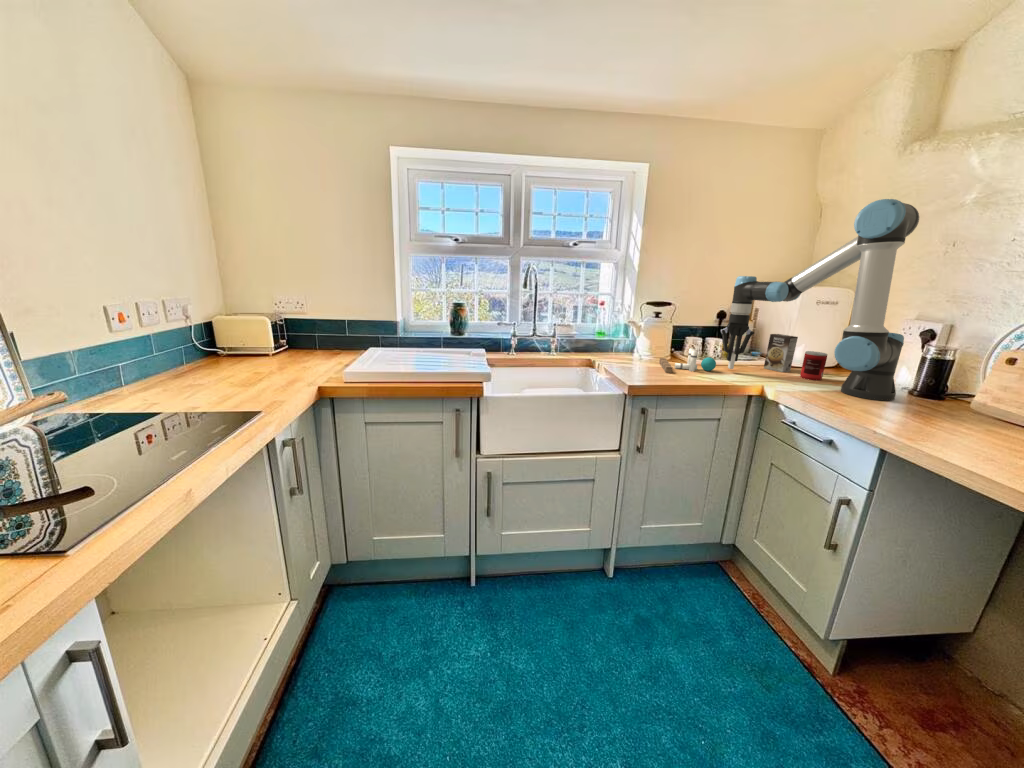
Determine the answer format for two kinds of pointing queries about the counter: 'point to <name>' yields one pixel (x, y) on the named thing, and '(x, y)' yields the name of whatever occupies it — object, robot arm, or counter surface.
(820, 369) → the canned food
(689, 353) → the back pin far
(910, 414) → the counter surface
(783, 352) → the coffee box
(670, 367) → the rail
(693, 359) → the back pin near
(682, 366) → the front pin
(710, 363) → the ball
